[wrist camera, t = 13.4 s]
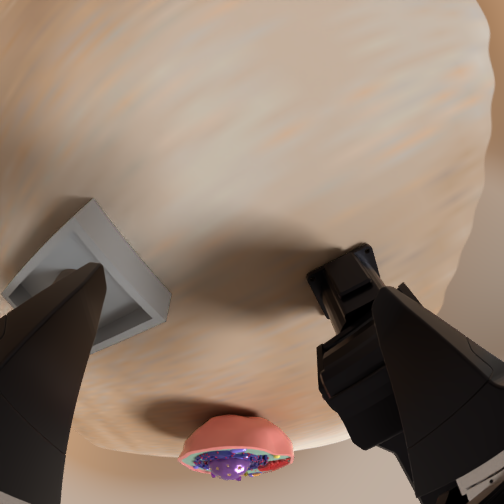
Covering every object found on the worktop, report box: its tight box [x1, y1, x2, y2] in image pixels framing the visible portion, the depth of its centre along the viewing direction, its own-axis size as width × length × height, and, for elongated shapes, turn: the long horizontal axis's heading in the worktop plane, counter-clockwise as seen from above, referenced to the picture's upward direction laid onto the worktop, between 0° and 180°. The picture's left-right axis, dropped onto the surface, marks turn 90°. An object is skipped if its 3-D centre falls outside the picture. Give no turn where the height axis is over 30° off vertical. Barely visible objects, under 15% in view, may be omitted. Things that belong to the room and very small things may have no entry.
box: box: [2, 198, 172, 354], centre depth 22 cm, size 11×15×4 cm
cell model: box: [178, 414, 294, 481], centre depth 35 cm, size 17×20×11 cm
